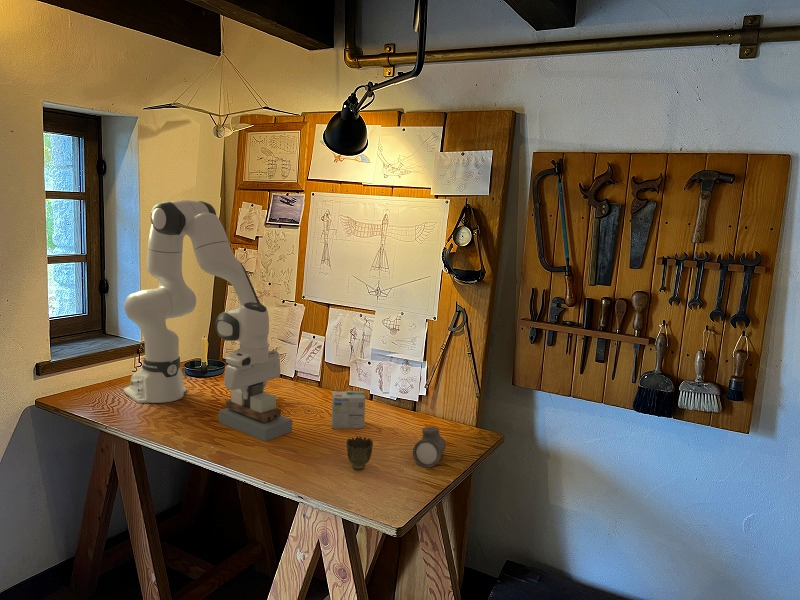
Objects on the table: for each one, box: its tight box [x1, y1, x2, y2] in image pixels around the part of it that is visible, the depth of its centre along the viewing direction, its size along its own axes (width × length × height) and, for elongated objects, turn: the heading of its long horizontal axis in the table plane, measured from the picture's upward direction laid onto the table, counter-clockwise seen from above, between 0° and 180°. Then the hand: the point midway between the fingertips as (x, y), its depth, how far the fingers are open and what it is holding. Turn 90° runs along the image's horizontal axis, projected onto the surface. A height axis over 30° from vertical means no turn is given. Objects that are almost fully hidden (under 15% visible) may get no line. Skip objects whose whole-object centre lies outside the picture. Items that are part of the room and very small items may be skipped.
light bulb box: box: [331, 390, 366, 430], centre depth 205 cm, size 11×7×11 cm, turn 100°
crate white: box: [230, 389, 244, 406], centre depth 201 cm, size 5×6×4 cm
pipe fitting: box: [412, 426, 447, 469], centre depth 183 cm, size 12×8×10 cm
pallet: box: [225, 383, 282, 422], centre depth 198 cm, size 18×7×9 cm, turn 55°
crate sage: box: [250, 391, 277, 413], centre depth 196 cm, size 5×6×4 cm
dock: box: [218, 407, 293, 442], centre depth 199 cm, size 22×11×4 cm, turn 55°
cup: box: [346, 436, 374, 471], centre depth 174 cm, size 8×7×8 cm
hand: (253, 396), depth 198 cm, fingers closed on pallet, 4 cm apart
